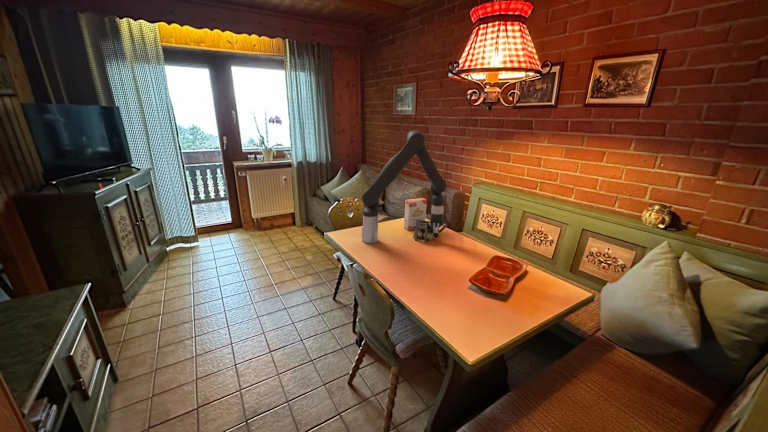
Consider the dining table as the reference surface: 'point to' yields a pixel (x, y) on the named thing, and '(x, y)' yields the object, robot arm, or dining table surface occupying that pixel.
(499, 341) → the dining table surface
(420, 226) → the dark grey legged block
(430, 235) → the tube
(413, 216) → the cracker box
